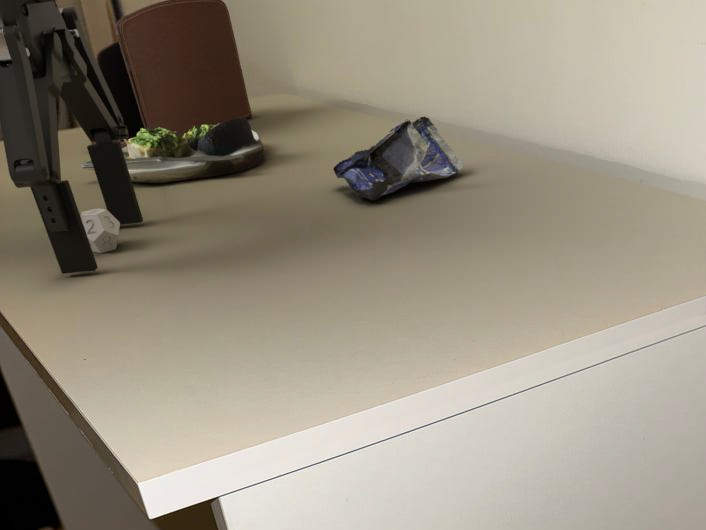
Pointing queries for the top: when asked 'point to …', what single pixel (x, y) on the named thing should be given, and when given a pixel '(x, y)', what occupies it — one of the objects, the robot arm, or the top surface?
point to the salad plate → (191, 152)
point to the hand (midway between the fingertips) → (105, 245)
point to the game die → (101, 229)
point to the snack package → (399, 160)
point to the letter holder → (175, 67)
